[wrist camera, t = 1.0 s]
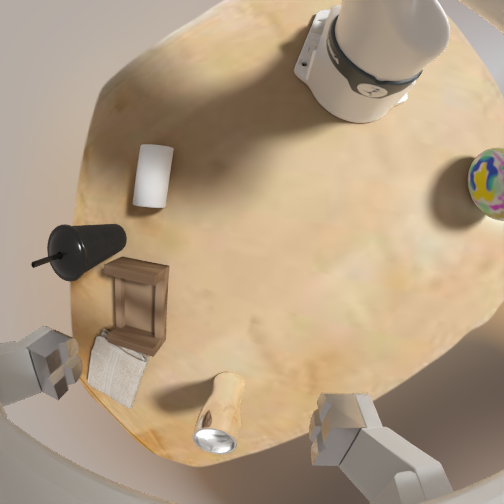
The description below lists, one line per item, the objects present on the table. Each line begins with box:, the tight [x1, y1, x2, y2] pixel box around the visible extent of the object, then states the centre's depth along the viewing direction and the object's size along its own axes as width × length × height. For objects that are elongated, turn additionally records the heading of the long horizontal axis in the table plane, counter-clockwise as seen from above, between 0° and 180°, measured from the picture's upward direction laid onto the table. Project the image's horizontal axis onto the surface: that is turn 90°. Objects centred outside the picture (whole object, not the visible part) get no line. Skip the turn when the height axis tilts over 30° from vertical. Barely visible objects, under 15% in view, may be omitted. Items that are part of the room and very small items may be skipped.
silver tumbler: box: [193, 372, 246, 454], centre depth 41 cm, size 7×7×15 cm
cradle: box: [104, 257, 169, 357], centre depth 43 cm, size 14×9×6 cm, turn 171°
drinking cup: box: [32, 224, 126, 281], centre depth 35 cm, size 8×8×20 cm
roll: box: [133, 144, 174, 208], centre depth 39 cm, size 9×5×5 cm, turn 171°
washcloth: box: [88, 328, 150, 408], centre depth 49 cm, size 12×18×3 cm, turn 154°
